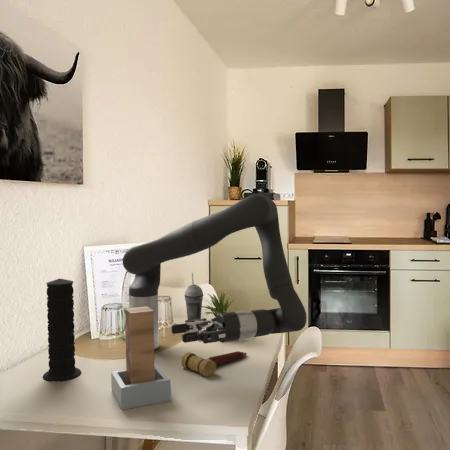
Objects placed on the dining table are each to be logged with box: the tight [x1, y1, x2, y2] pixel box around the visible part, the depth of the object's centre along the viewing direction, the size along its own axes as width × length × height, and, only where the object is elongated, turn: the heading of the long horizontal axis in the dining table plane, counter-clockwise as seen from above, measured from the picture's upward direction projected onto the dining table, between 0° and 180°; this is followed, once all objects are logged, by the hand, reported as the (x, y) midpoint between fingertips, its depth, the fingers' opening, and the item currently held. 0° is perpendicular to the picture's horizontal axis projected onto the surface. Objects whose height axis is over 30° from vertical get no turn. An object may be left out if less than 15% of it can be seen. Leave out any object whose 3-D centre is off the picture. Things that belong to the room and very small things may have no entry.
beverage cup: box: [184, 272, 204, 327], centre depth 178 cm, size 7×7×20 cm
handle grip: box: [42, 278, 82, 383], centre depth 127 cm, size 10×26×10 cm
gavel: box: [180, 350, 248, 378], centre depth 135 cm, size 21×5×10 cm
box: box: [110, 364, 172, 411], centre depth 113 cm, size 12×12×5 cm
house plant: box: [201, 291, 238, 322], centre depth 163 cm, size 14×14×16 cm
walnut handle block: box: [124, 306, 156, 385], centre depth 112 cm, size 6×6×20 cm
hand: (176, 333), depth 116 cm, fingers open, 8 cm apart
